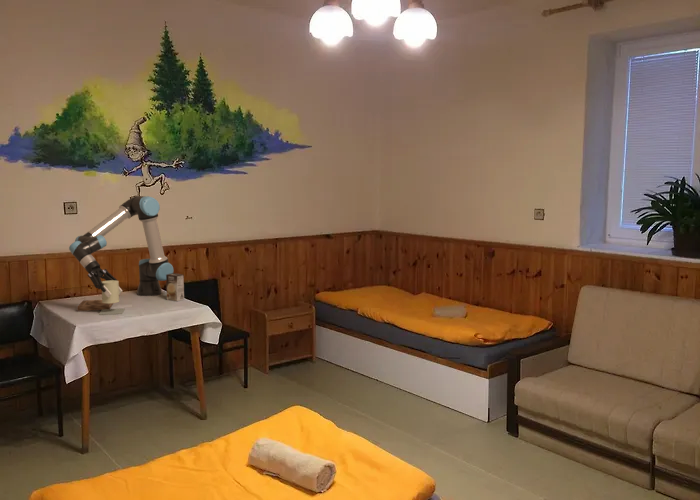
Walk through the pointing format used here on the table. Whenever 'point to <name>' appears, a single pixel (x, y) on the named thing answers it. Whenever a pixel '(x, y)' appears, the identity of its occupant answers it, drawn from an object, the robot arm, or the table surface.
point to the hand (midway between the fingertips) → (115, 294)
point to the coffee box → (175, 286)
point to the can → (111, 291)
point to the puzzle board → (93, 305)
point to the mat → (111, 311)
